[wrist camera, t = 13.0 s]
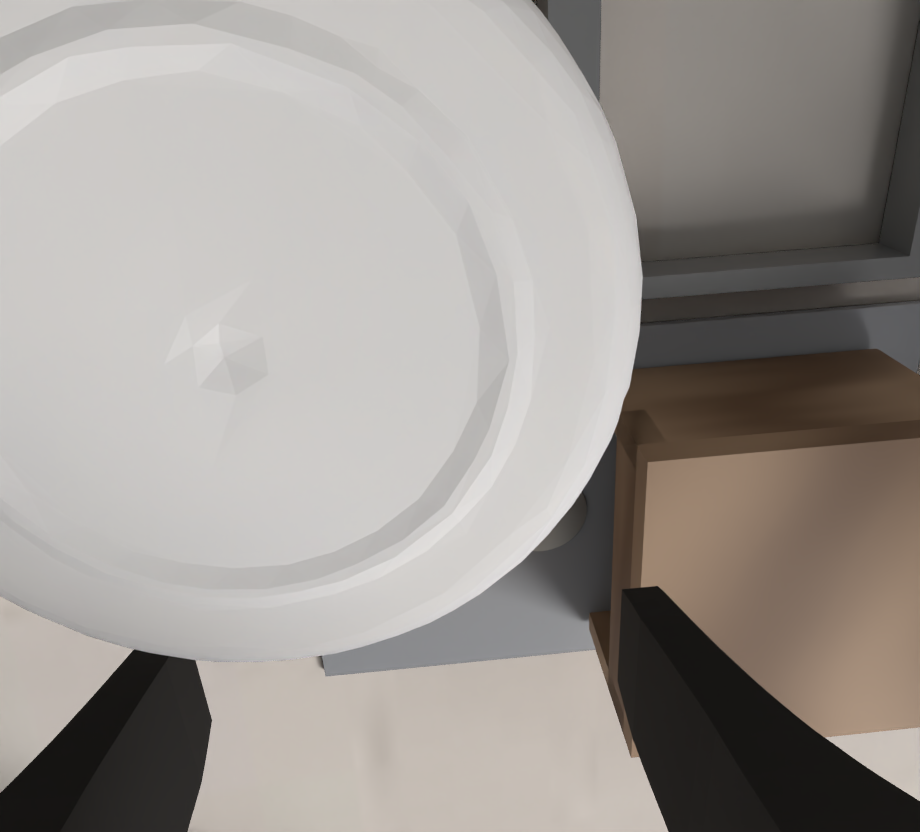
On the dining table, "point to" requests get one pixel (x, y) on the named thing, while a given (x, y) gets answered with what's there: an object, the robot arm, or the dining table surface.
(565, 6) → the socket frames
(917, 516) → the cardboard box
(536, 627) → the board
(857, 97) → the dining table surface
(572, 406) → the spice jar
